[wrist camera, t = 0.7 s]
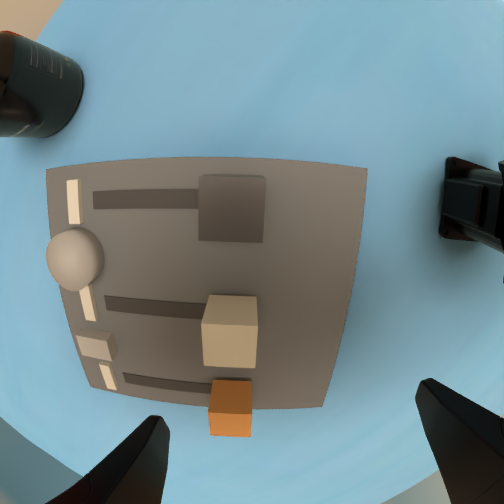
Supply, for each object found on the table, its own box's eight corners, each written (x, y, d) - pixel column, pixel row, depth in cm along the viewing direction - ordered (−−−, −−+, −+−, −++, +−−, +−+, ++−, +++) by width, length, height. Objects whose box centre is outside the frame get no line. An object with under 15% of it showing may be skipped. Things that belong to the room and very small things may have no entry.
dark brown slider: (262, 175, 15) (266, 178, 12) (260, 226, 16) (262, 243, 13) (209, 174, 15) (198, 176, 12) (208, 225, 16) (198, 240, 13)
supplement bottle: (44, 155, 16) (-77, 171, 5) (18, 104, 15) (-84, 98, 3) (100, 91, 15) (-23, 50, 4) (68, 44, 13) (-30, 1, 2)
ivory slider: (256, 296, 18) (257, 326, 14) (254, 335, 19) (255, 368, 15) (209, 294, 18) (201, 323, 14) (210, 333, 19) (203, 365, 15)
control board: (358, 168, 17) (381, 169, 14) (319, 395, 23) (326, 422, 20) (57, 168, 17) (29, 171, 13) (96, 377, 23) (82, 399, 19)
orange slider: (251, 381, 20) (252, 414, 17) (250, 405, 21) (250, 436, 17) (212, 379, 20) (207, 412, 17) (214, 403, 21) (210, 434, 17)
